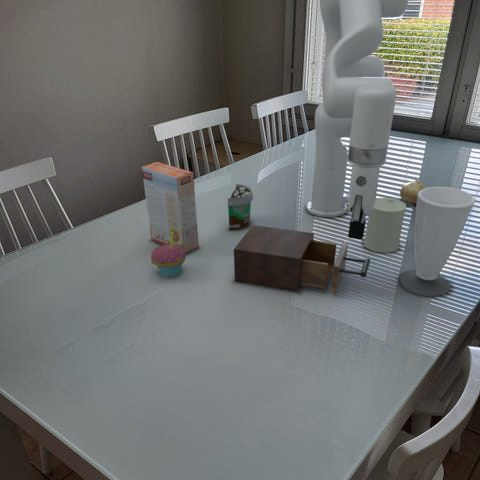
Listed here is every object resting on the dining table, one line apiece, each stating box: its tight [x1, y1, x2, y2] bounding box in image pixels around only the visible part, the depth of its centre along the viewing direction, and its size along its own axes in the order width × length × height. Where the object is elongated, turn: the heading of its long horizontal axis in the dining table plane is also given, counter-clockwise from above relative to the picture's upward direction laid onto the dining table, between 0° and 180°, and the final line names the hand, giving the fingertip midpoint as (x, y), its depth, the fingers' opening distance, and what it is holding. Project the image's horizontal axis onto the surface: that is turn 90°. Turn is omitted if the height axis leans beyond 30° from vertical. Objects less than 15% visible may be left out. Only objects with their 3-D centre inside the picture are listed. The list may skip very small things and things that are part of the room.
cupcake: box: [150, 229, 187, 278], centre depth 116 cm, size 9×8×12 cm
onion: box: [399, 177, 426, 205], centre depth 151 cm, size 8×8×7 cm
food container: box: [227, 183, 254, 231], centre depth 139 cm, size 12×6×10 cm, turn 168°
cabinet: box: [233, 224, 315, 293], centre depth 116 cm, size 16×14×9 cm
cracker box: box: [141, 161, 200, 254], centre depth 126 cm, size 14×6×21 cm, turn 47°
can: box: [363, 197, 407, 253], centre depth 126 cm, size 9×9×12 cm
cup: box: [399, 186, 476, 298], centre depth 107 cm, size 12×12×22 cm
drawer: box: [300, 239, 371, 295], centre depth 112 cm, size 20×13×7 cm, turn 70°
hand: (355, 236), depth 106 cm, fingers closed
